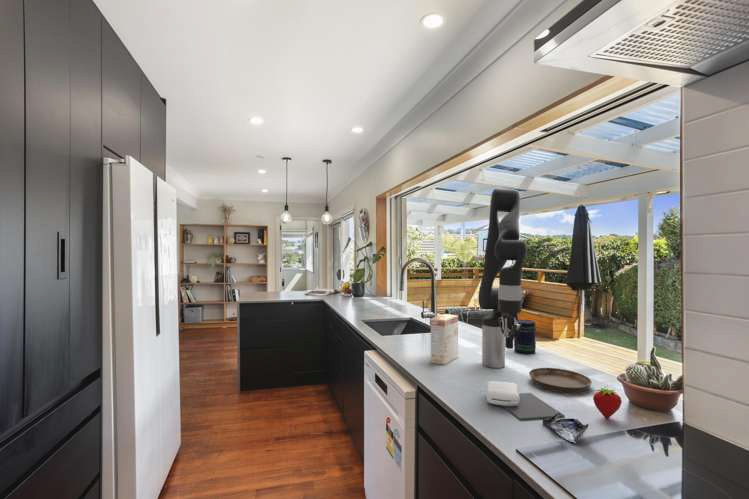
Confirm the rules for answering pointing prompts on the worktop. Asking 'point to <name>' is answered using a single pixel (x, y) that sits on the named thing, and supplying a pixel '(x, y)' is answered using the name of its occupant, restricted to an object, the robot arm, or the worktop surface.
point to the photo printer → (502, 393)
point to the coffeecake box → (444, 338)
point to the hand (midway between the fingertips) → (509, 348)
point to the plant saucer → (560, 380)
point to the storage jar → (526, 338)
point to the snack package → (566, 426)
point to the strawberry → (607, 402)
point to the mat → (532, 408)
